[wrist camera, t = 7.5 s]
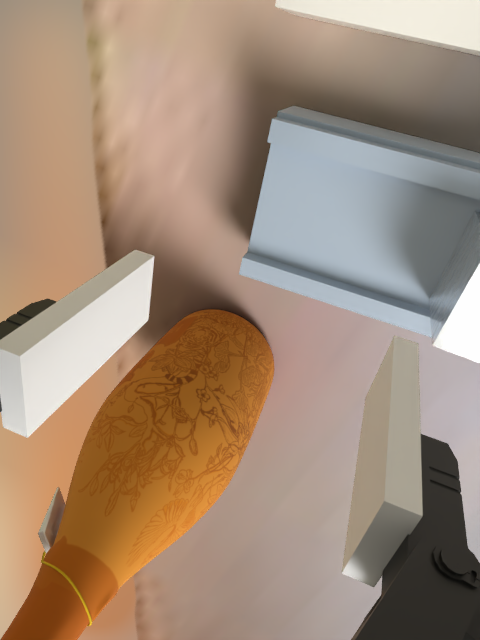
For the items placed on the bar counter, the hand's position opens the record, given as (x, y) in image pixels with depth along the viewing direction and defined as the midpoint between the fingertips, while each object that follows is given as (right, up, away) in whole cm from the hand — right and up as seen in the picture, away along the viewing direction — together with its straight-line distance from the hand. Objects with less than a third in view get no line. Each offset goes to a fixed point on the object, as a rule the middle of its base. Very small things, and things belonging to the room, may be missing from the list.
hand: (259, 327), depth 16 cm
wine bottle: (-2, -2, +23) cm, 24 cm away
